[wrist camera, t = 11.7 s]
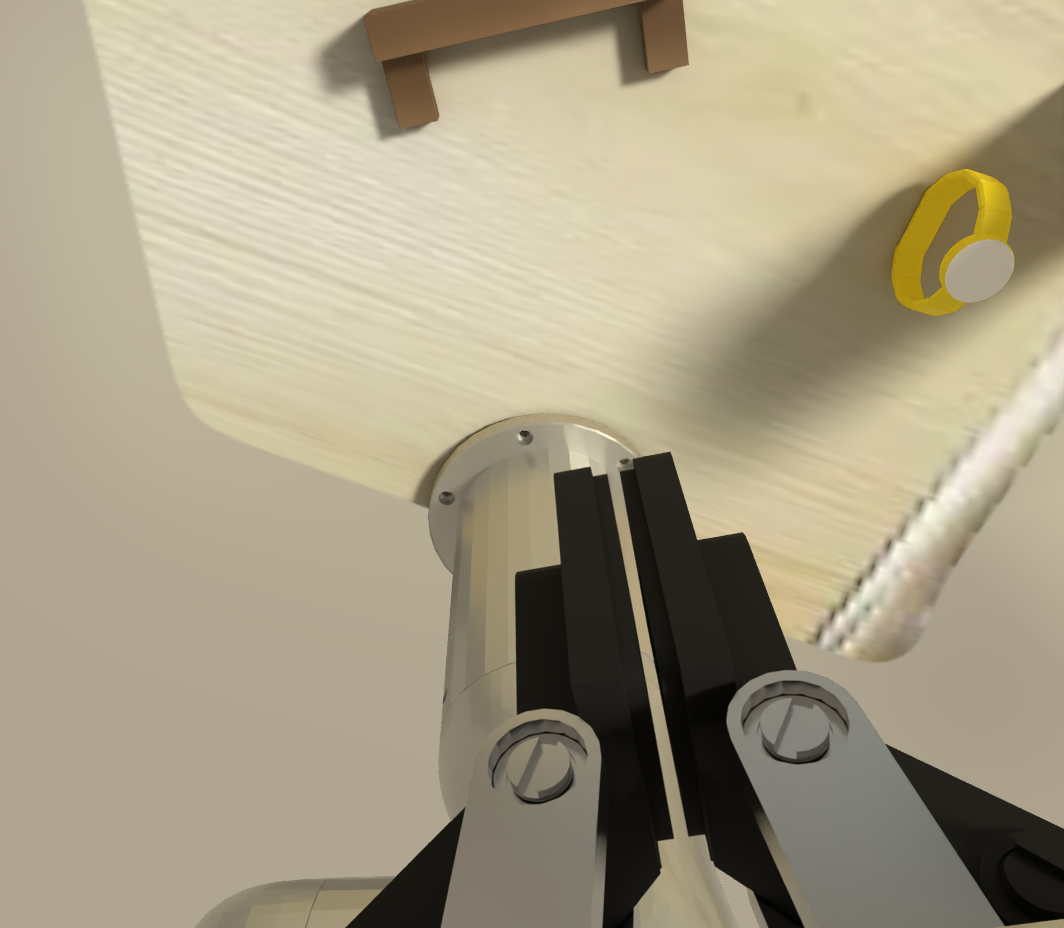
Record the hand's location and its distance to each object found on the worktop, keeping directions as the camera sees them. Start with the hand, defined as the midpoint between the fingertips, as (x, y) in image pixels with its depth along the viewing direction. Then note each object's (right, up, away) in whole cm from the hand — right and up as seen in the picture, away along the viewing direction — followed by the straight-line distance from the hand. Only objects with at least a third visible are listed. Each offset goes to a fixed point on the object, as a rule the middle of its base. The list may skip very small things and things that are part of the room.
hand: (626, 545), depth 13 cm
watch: (+16, +12, +28) cm, 34 cm away
